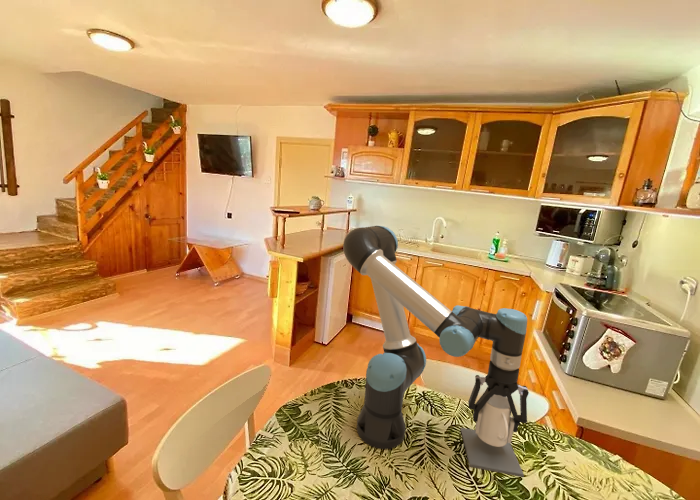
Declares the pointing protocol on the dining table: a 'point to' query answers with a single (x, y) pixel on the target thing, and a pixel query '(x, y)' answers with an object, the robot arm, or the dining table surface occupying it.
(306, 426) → the dining table surface
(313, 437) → the dining table surface
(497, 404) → the mug
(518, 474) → the coaster
